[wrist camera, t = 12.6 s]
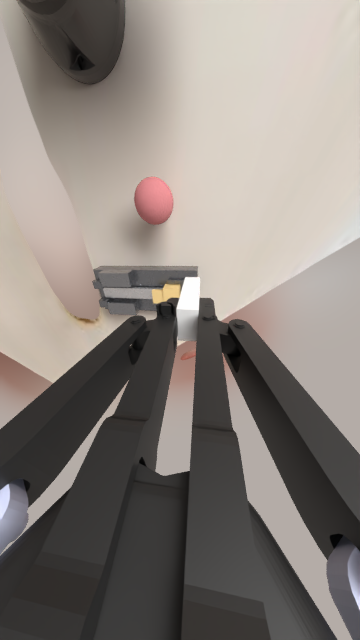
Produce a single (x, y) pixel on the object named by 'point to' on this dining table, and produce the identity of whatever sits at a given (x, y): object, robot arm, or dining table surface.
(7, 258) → the dining table surface
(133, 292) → the light grey flat bar
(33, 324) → the dining table surface
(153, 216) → the light bulb
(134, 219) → the dining table surface
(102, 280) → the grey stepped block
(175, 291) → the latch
